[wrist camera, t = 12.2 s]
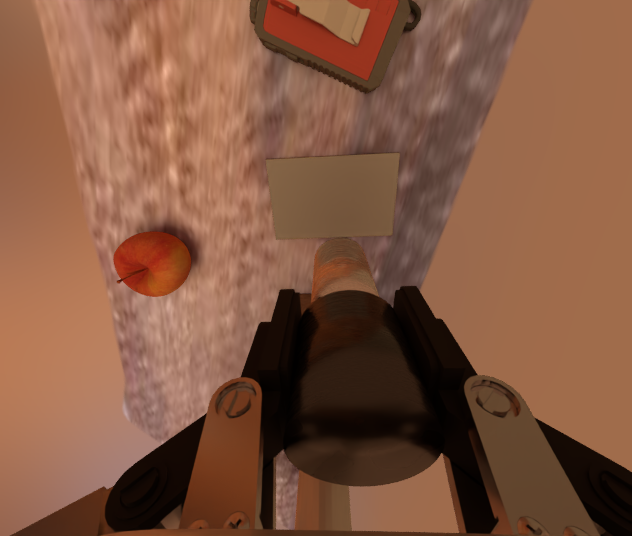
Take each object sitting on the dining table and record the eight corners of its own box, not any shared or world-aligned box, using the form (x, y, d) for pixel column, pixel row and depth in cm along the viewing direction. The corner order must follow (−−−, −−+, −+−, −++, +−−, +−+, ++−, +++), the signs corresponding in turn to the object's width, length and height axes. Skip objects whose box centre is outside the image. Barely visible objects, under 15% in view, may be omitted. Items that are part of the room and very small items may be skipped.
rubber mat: (391, 233, 31) (392, 235, 30) (276, 237, 32) (275, 239, 31) (398, 152, 27) (400, 152, 26) (266, 159, 27) (265, 159, 27)
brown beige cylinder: (384, 269, 15) (469, 462, 6) (330, 299, 16) (337, 498, 7) (350, 217, 14) (399, 371, 5) (294, 253, 15) (249, 432, 6)
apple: (211, 269, 34) (181, 305, 27) (161, 278, 35) (119, 314, 28) (188, 216, 31) (147, 241, 24) (133, 227, 32) (78, 254, 25)
